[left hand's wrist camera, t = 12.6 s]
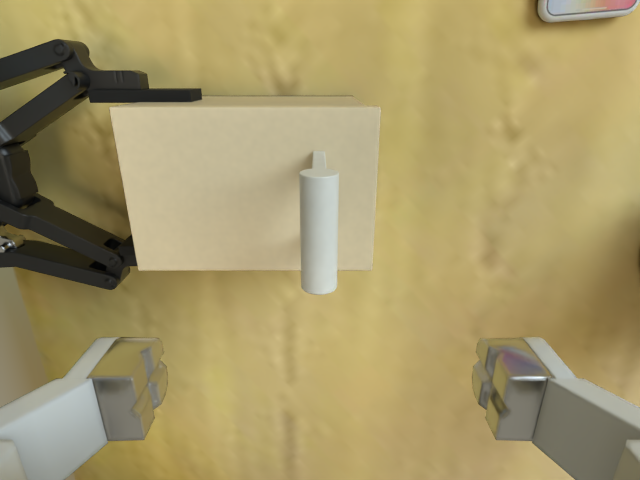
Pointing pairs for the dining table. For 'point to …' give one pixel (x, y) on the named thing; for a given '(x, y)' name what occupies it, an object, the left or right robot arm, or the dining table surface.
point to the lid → (251, 188)
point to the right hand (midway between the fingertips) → (204, 174)
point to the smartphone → (583, 9)
